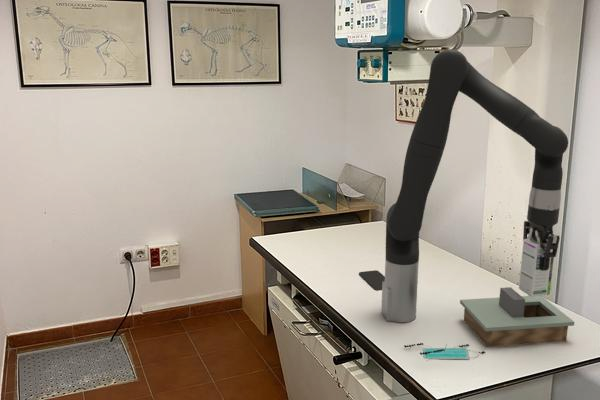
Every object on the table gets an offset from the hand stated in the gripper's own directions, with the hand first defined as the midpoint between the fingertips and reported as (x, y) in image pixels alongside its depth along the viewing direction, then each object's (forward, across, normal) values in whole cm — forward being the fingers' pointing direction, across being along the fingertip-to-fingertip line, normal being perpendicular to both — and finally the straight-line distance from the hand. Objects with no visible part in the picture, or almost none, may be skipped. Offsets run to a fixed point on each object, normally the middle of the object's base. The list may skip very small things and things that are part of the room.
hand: (536, 265), depth 158 cm
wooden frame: (+19, 0, -5) cm, 19 cm away
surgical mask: (+20, +9, -28) cm, 35 cm away
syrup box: (+8, 0, 0) cm, 8 cm away
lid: (+14, 0, -5) cm, 15 cm away
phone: (+20, -39, -33) cm, 55 cm away
